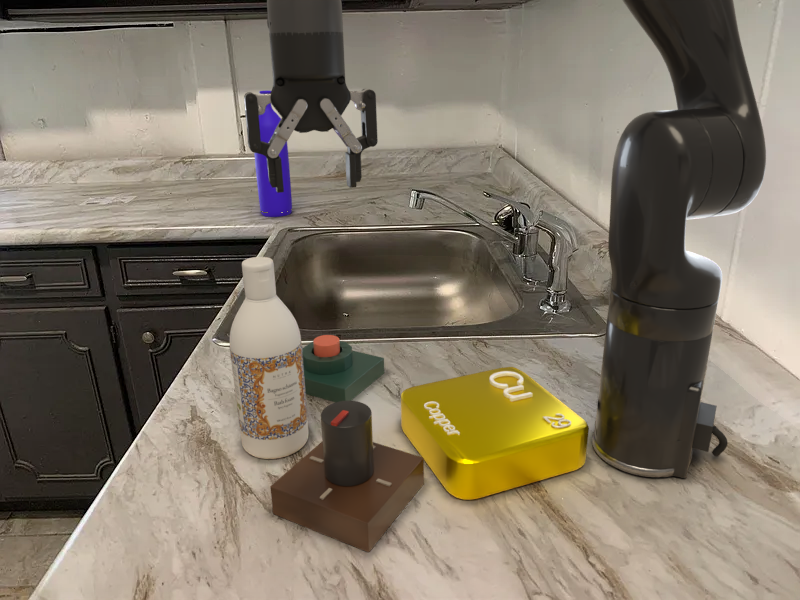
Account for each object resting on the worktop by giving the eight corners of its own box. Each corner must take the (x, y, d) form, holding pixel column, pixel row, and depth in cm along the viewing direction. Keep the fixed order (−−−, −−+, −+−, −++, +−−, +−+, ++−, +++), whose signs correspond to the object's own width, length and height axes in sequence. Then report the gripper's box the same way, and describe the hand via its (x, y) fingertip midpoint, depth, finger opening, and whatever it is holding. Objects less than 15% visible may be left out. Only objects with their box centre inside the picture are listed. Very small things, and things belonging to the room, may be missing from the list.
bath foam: (257, 470, 62) (234, 278, 55) (232, 437, 68) (209, 258, 60) (320, 446, 66) (307, 263, 58) (292, 417, 71) (277, 246, 64)
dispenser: (384, 373, 81) (383, 344, 79) (345, 405, 73) (343, 375, 72) (314, 355, 86) (312, 328, 84) (271, 384, 78) (268, 355, 77)
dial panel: (424, 484, 60) (424, 455, 59) (368, 553, 52) (367, 521, 50) (336, 455, 64) (334, 428, 63) (272, 514, 56) (269, 484, 55)
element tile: (395, 423, 70) (394, 384, 68) (513, 395, 75) (515, 359, 73) (456, 507, 57) (457, 462, 55) (594, 466, 62) (599, 424, 60)
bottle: (277, 208, 168) (266, 89, 157) (299, 212, 163) (290, 90, 152) (253, 214, 162) (240, 91, 151) (276, 218, 157) (264, 92, 146)
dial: (339, 452, 60) (336, 393, 57) (381, 463, 58) (380, 403, 56) (315, 479, 56) (310, 417, 54) (359, 491, 54) (356, 428, 52)
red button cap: (345, 350, 79) (344, 337, 78) (330, 360, 76) (329, 347, 75) (324, 345, 80) (323, 332, 79) (308, 355, 78) (307, 342, 77)
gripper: (236, 28, 60) (253, 200, 66) (383, 27, 63) (386, 190, 69) (232, 31, 66) (249, 187, 72) (365, 30, 70) (370, 178, 76)
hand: (316, 188), depth 71 cm, fingers open, 7 cm apart
